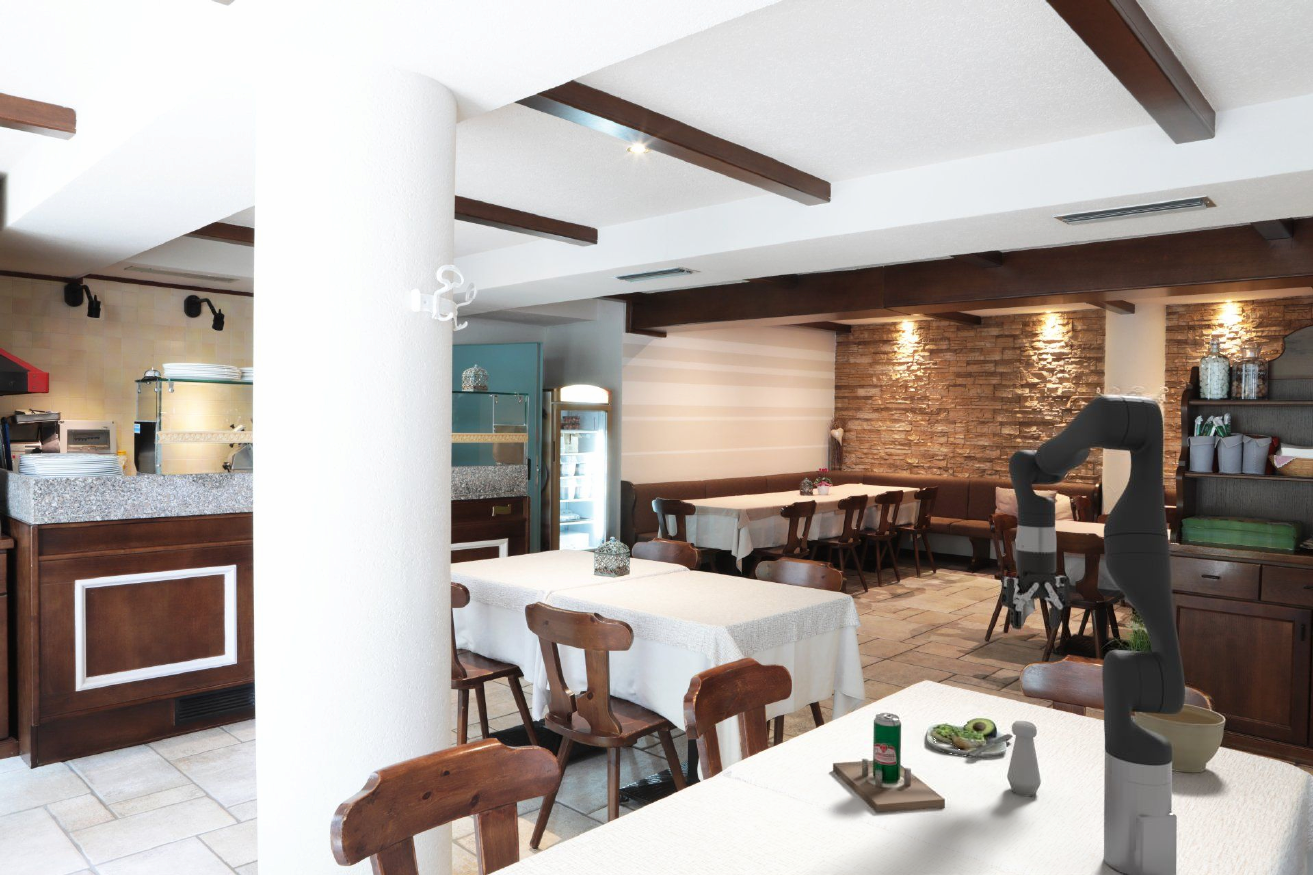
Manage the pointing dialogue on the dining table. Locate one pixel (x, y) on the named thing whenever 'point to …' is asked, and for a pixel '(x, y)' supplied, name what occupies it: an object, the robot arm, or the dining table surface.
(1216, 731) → the planter bowl
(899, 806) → the pin board
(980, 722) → the salad plate
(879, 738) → the soda can
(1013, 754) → the salt shaker
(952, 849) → the dining table surface
